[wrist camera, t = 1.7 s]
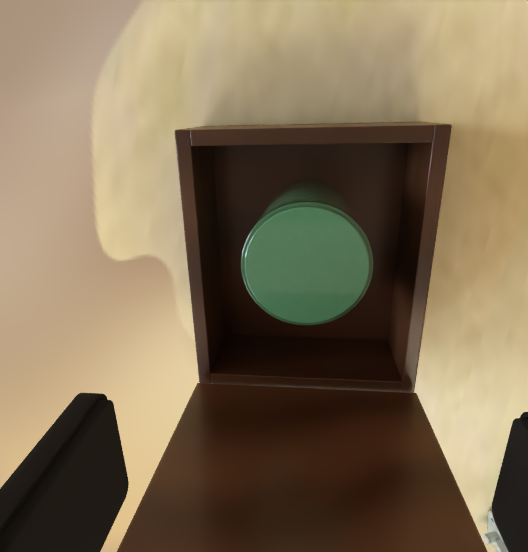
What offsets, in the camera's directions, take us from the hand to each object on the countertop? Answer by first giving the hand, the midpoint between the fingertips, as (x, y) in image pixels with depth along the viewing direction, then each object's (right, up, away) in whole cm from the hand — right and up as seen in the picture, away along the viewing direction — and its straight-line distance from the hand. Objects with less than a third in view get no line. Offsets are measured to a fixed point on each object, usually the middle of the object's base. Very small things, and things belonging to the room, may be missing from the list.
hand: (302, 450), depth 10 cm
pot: (+2, +7, +17) cm, 19 cm away
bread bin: (+2, +6, +19) cm, 20 cm away
